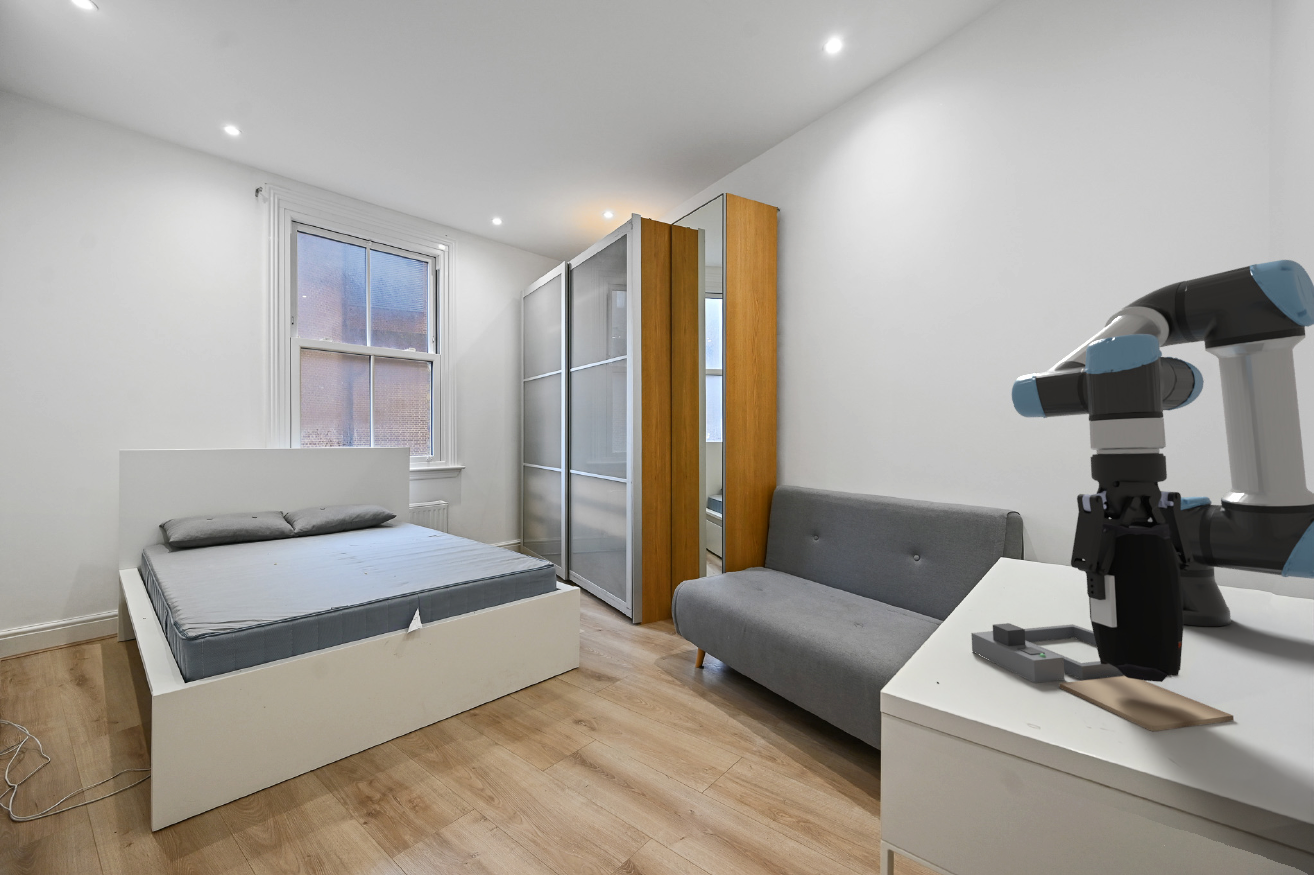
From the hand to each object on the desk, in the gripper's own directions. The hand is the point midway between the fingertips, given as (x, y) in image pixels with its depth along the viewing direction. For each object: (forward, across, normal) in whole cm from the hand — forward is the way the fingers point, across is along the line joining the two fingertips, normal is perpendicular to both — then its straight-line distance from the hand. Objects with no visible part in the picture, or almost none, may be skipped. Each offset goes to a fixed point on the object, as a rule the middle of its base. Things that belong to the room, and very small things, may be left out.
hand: (1135, 621), depth 69 cm
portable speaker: (+7, 0, 0) cm, 7 cm away
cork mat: (+11, 0, 0) cm, 11 cm away
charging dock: (+11, -6, -15) cm, 19 cm away
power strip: (+11, +5, -14) cm, 18 cm away
